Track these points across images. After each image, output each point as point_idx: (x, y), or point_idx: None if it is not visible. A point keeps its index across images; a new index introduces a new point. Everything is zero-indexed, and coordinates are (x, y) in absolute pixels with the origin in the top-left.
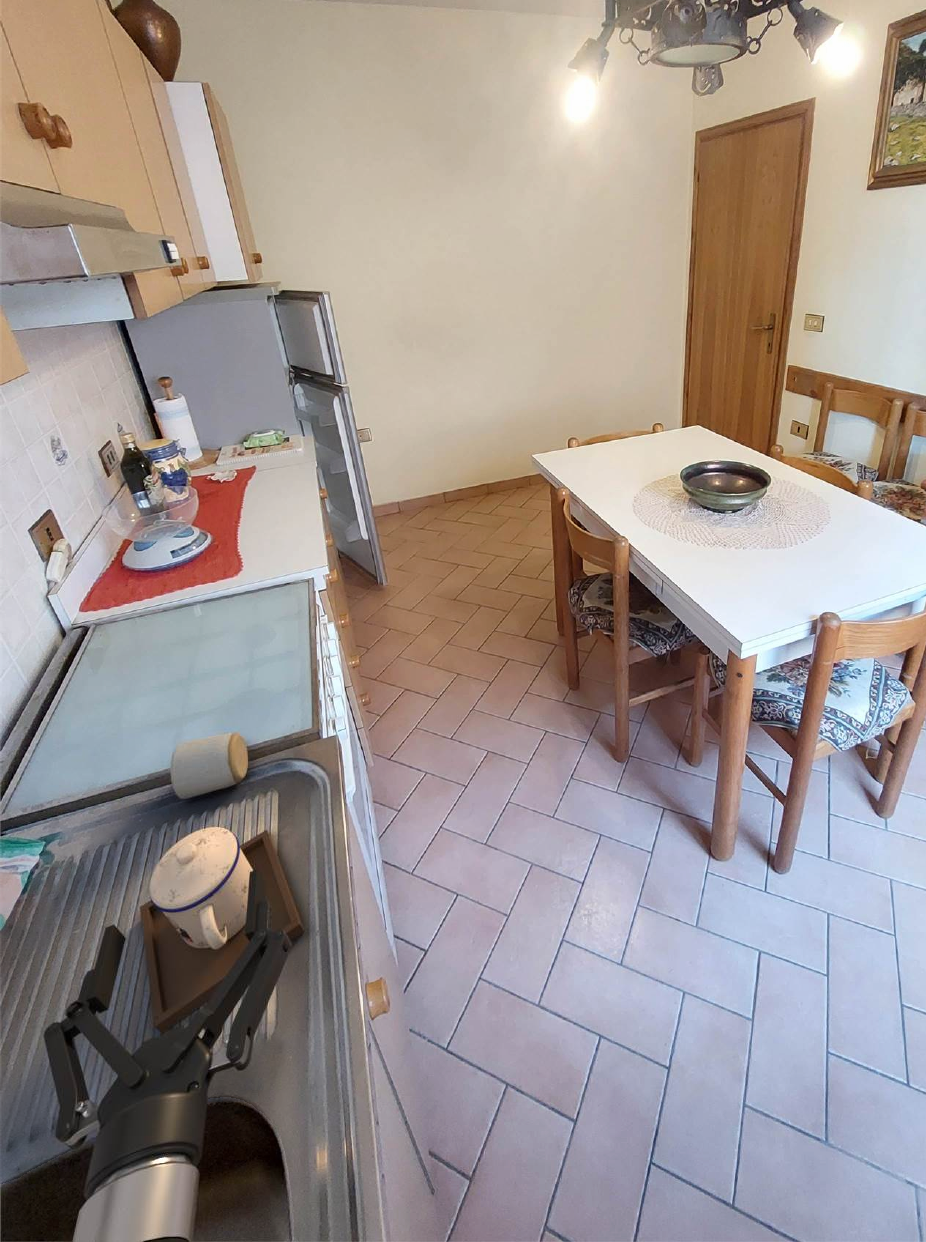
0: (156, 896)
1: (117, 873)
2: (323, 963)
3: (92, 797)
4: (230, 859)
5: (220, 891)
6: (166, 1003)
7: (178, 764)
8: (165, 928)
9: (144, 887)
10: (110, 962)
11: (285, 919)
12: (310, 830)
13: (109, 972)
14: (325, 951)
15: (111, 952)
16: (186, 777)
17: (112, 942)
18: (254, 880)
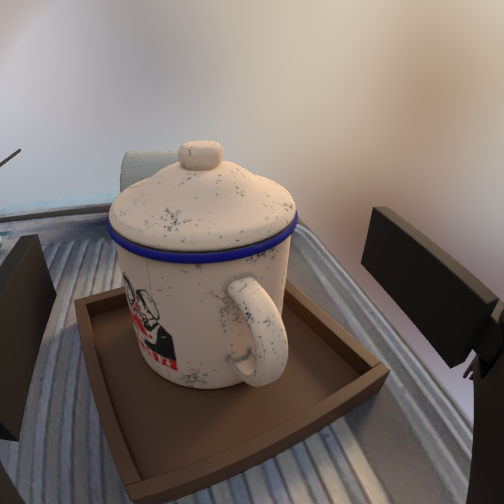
0: (129, 218)
1: (49, 269)
2: (438, 429)
3: (38, 214)
4: (289, 198)
5: (274, 255)
6: (138, 461)
7: (131, 160)
8: (111, 341)
9: (78, 288)
10: (19, 313)
11: (342, 367)
12: (313, 270)
13: (15, 338)
14: (432, 414)
15: (23, 290)
16: (138, 177)
17: (28, 269)
18: (400, 218)
